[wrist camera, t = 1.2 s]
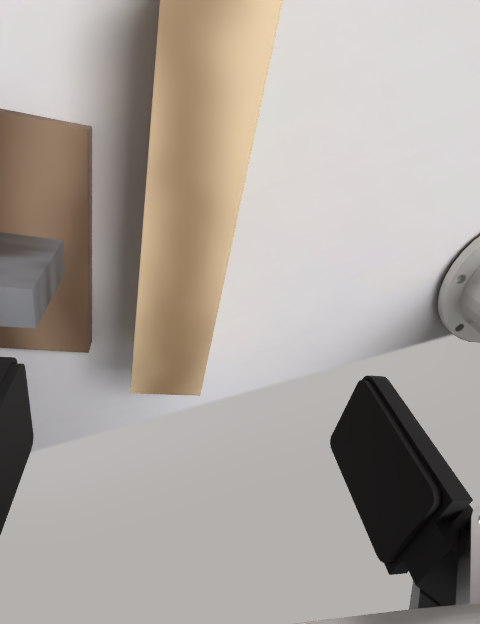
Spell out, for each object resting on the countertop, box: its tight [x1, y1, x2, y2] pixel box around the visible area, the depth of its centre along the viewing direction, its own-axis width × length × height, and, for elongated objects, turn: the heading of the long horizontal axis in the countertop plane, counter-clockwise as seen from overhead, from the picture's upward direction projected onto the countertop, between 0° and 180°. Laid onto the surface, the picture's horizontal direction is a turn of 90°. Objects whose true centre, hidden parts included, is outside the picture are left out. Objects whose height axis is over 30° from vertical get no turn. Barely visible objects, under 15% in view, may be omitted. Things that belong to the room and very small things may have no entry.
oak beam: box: [130, 0, 283, 395], centre depth 23 cm, size 5×24×6 cm, turn 168°
